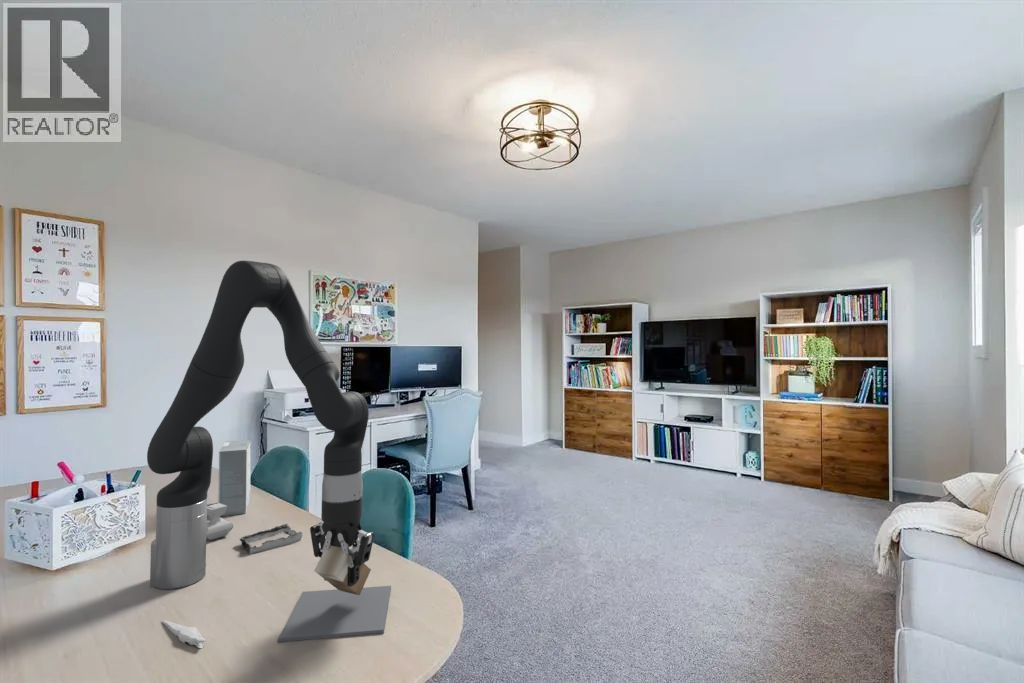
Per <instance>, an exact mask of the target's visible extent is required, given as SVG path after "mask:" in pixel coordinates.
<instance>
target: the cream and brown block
mask: <svg viewBox="0 0 1024 683" xmlns="http://www.w3.org/2000/svg"><path fill="white" fill-rule="evenodd" d="M353 558H354V554H353ZM348 567H349V565H348V556H346V554H343V551H342V548H341V547H336V546H332V545H331V547H330V548H329V549H328V550H325V551H324V553H323V555H322V556H321V558H320V557H319V560H318V562H317V564H316V566H315V568H314V570H313V572H315V573H316V574H317V575H319V576H320V577H321V578H322V579H323V580H324V579H325V580H326V582H327V583H329V584H330V585H331V586H333V588H335V589H338V590H339V591H343V592H347V593H351V594H356V595H360V593H361V591H362V589H363V588H365V584H366V582H367V579H368V577H369V575H370V573H371V570H372V569H371V568H370V567H369V566H368V565H366V563H363V564H362V565H361V566H360V574H359V581H357V583H356V584H354V585H353V586H348ZM325 580H324V581H325Z"/></svg>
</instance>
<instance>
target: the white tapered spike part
mask: <svg viewBox="0 0 1024 683" xmlns="http://www.w3.org/2000/svg"><path fill="white" fill-rule="evenodd" d="M161 622H162V624H164V625H165V626H166V627H167V629H168V630H170V632H171V633H172V634H174V636H177V637H178V640H179V641H180V642H181V643H183V644H185V645H186V643H188V645H191V646H195V647H196V648H197V649H203V648H204V646H205V644H204V642H206V638H204V637H203V636H202V633H200V631H199V630H198V628H197V627H195V626H185V625H183V624H179V623H175V622H172V621H169V620H161Z"/></svg>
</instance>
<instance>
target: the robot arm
mask: <svg viewBox="0 0 1024 683" xmlns="http://www.w3.org/2000/svg"><path fill="white" fill-rule="evenodd" d="M253 308H267V309H268V311H269V312H270V313H271V314H272V315H273V316H274V318H275V319H276V320H277V321H278V323H279V325H280V328H281V330H282V334H283V343H284V344H283V345H284V352H285V355H286V359H287V361H288V363H289V365H290V367H291V368H292V370H293V372H294V373H295V374H296V376H297V377H298V379H299V380H300V382H301V383H302V385H303V386H304V387H305V389H306V393H307V396H308V397H307V398H308V400H309V403H310V406H311V409H312V411H313V413H314V414H313V415H314V416H315V417H316V419H317V421H318V422H319V423H320V425H322V426H323V427H324V428H325V429H327V430H329V431H333V432H334V433H333V437H332V439H331V440H330V441H329V442H328V443H327V444H326V446H325V447H324V449H323V450H324V451H323V476H322V484H321V513H320V514H321V521H322V522H319V523H317V524H314V525H312V526H310V528H309V532H310V538H311V544H312V550H313V556H314V557H315V558H319V559H320V558H321V556H322V555H323V553H324V551H325V550H328V549H329V548H330V547H331V545H332V546H336V547H341V548H342V551H343V554H346V556H348V565H349V567H348V586H353V585H354V584H356V583H357V581H359V574H360V566H361V565H362V564H363V563H364V564H366V563H367V562H368V561H370V557H371V553H372V547H373V544H374V539H375V533H374V532H373V531H369V532H367V531H365V530H363V528H362V524H361V519H362V516H363V484H364V483H363V473H362V466H363V465H362V464H363V463H362V462H363V461H362V460H363V459H362V458H363V457H362V454H363V453H362V448H363V445H364V441H365V437H366V432H367V426H368V422H369V412H370V411H369V405H368V402H367V400H366V398H365V397H364V396H363V395H362V394H361V393H359V392H356V391H352V390H351V391H344V392H343V391H342V390H341V388H340V387H339V384H338V382H337V381H339V378H340V370H339V369H338V367H337V365H336V364H335V361H334V360H333V358H331V357H330V355H329V353H328V352H327V350H326V349H325V347H324V345H323V344H322V343H321V342H320V339H319V338H318V337H317V335H316V333H315V331H314V329H313V328H312V326H311V323H310V322H309V319H308V317H307V315H306V313H305V311H304V309H303V306H302V304H301V302H300V300H299V299H298V296H297V294H296V291H295V289H294V287H293V285H292V283H291V281H290V278H289V277H288V275H287V274H286V271H284V270H283V269H282V268H281V267H280V266H278V265H275V264H273V263H268V262H261V261H254V260H237V261H235V262H233V263H232V264H231V265H230V266H229V267H228V268H226V271H225V273H224V274H223V276H222V279H221V282H220V285H219V288H218V290H217V294H216V298H215V302H214V305H213V307H212V310H211V314H210V317H209V320H208V322H207V324H206V325H207V326H206V327H205V330H204V332H203V335H202V337H201V339H200V342H199V344H198V346H197V348H196V351H195V352H194V354H193V357H192V358H191V360H190V362H189V365H188V368H187V369H186V373H185V374H184V377H183V379H182V382H181V384H180V387H179V388H178V391H177V393H176V395H175V397H174V399H173V402H172V403H171V405H170V407H169V408H168V410H167V412H166V414H165V416H164V417H163V419H162V420H161V422H160V424H159V426H157V429H156V430H155V432H154V433H153V436H152V437H151V440H150V443H149V444H148V448H147V451H146V452H147V453H146V454H147V455H146V461H147V465H148V467H149V469H150V471H152V472H153V473H155V474H157V475H168V474H169V475H170V474H171V475H172V474H175V473H176V474H177V473H179V474H178V475H177V476H176V478H174V480H172V481H171V482H169V483H168V484H166V485H165V486H164V487H162V488H160V489H159V490H158V492H157V493H156V507H155V508H156V512H155V513H156V514H155V516H156V517H155V518H156V519H155V539H154V540H152V541H151V543H150V561H149V562H150V563H149V564H150V569H149V570H150V571H149V576H150V577H149V587H150V588H158V589H161V590H172V589H180V588H183V587H187V586H190V585H193V584H196V583H198V582H199V581H200V580H202V579H203V578H204V577H205V576H206V570H207V569H206V567H207V561H206V560H207V539H206V530H207V521H208V518H207V517H208V515H207V506H208V491H209V488H210V487H211V486H210V485H211V483H212V482H211V480H212V469H213V468H212V467H213V461H214V460H213V456H214V445H213V444H214V443H213V439H212V436H211V435H212V434H210V432H209V431H208V429H206V428H205V427H203V426H196V425H197V424H198V423H199V422H200V421H201V420H202V418H204V417H205V416H207V415H208V414H209V413H210V412H211V411H212V410H214V409H215V408H216V407H217V406H218V405H220V404H221V403H222V402H223V401H224V400H225V399H226V398H227V397H228V396H229V395H230V394H231V392H232V391H233V389H234V388H235V386H236V384H237V382H238V381H239V380H238V379H239V378H240V375H241V373H242V371H243V368H244V366H245V365H244V364H245V354H244V353H245V352H244V348H243V344H242V338H241V334H242V329H243V326H244V324H245V321H246V319H247V317H248V316H249V314H250V312H251V311H252V309H253ZM350 547H351V548H350ZM353 554H354V558H353ZM323 580H324V581H326V580H325V579H324V578H323ZM326 582H327V581H326Z"/></svg>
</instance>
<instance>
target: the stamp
mask: <svg viewBox="0 0 1024 683" xmlns="http://www.w3.org/2000/svg"><path fill="white" fill-rule="evenodd" d="M226 510H227V506H226V505H223V504H220V503H215V504H211V505H207V517H209V520H207V530H206V540H208V541H212V540H215V539H220V538H222V537H225V536H227V535H228V534H229V533H230V532H231V531H232V530H233V529H234V523H233V522H232V521H229V520H227V519H225V518H223V517H222V516H221V515H223V514H225V511H226ZM220 516H221V517H220Z"/></svg>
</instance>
